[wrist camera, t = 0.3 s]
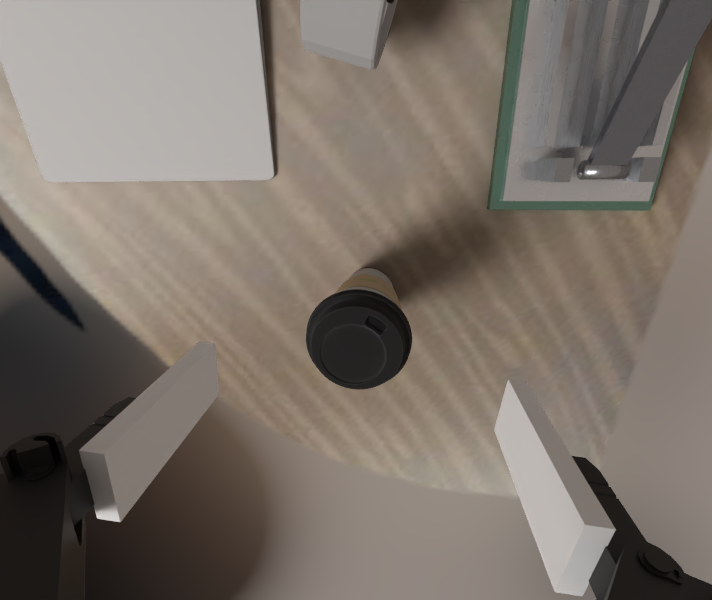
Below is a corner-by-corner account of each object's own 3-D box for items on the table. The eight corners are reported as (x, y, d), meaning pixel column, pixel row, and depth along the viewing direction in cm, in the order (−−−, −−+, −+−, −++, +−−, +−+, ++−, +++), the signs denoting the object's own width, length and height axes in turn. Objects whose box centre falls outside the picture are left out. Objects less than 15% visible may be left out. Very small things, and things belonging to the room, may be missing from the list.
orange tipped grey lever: (723, -181, 18) (745, -185, 16) (837, -193, 17) (868, -196, 16) (567, 173, 32) (573, 184, 31) (625, 173, 32) (633, 184, 31)
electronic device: (257, -43, 34) (249, -55, 32) (277, 179, 41) (271, 180, 39) (-11, -22, 36) (-33, -33, 35) (50, 182, 43) (35, 182, 42)
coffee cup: (413, 259, 42) (422, 306, 28) (400, 331, 45) (402, 405, 31) (334, 248, 42) (304, 289, 28) (327, 320, 46) (297, 387, 32)
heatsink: (525, -110, 30) (569, -204, 22) (735, -127, 28) (860, -235, 21) (487, 208, 39) (509, 218, 31) (643, 209, 37) (706, 220, 30)
